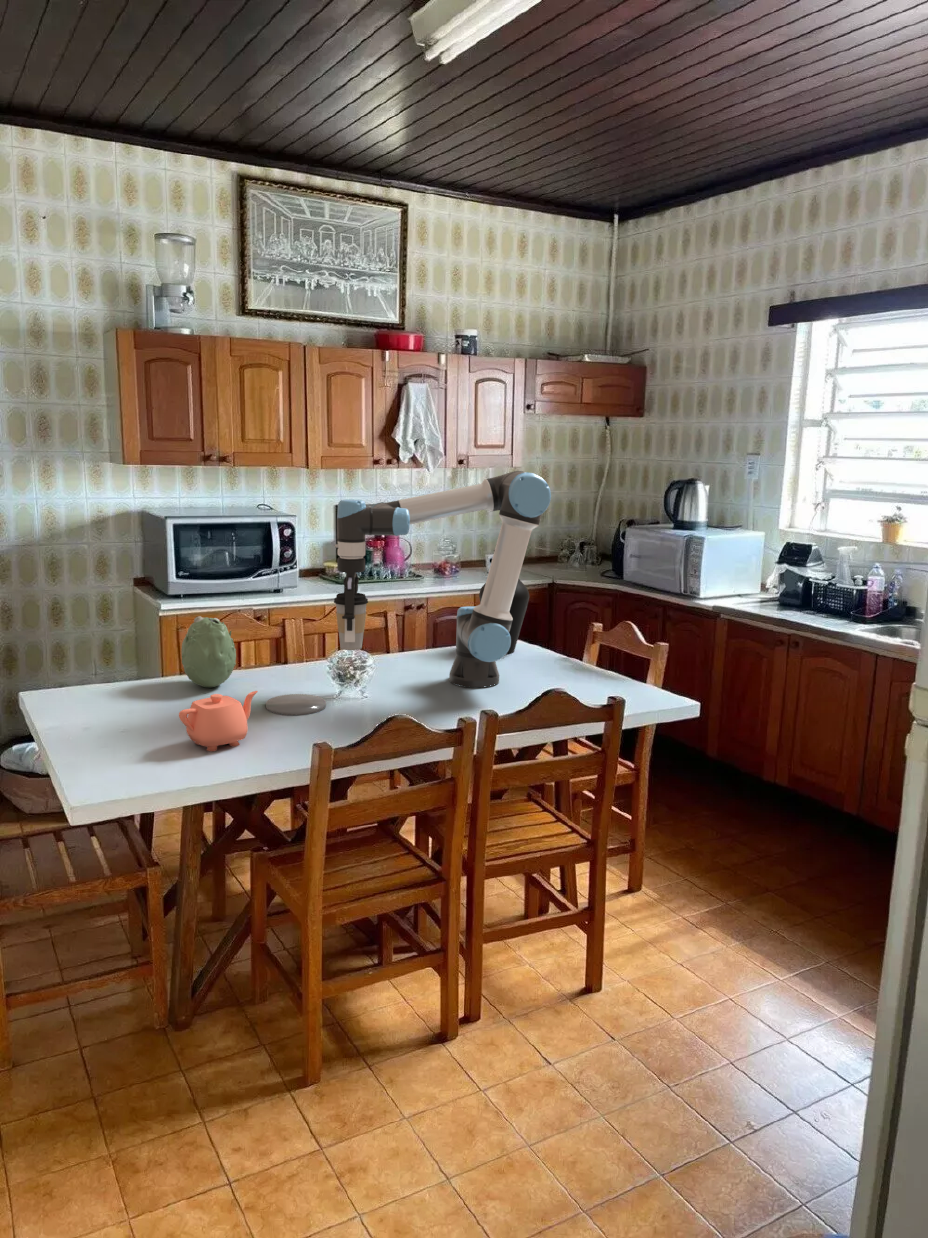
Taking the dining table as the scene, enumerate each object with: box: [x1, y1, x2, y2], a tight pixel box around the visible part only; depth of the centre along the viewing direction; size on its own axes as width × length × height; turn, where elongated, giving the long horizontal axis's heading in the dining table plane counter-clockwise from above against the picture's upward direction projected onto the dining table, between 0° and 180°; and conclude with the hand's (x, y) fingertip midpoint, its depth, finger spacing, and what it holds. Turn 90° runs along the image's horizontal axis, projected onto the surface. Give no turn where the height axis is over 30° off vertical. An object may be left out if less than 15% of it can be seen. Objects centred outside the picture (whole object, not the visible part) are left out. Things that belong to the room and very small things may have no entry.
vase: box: [478, 549, 530, 655], centre depth 313 cm, size 17×17×35 cm
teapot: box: [178, 690, 258, 752], centre depth 217 cm, size 20×12×12 cm, turn 132°
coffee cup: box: [333, 592, 369, 651], centre depth 253 cm, size 9×9×15 cm
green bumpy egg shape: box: [181, 615, 237, 688], centre depth 262 cm, size 16×19×20 cm
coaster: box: [265, 693, 327, 716], centre depth 248 cm, size 16×16×1 cm
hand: (350, 638), depth 254 cm, fingers closed on coffee cup, 8 cm apart
